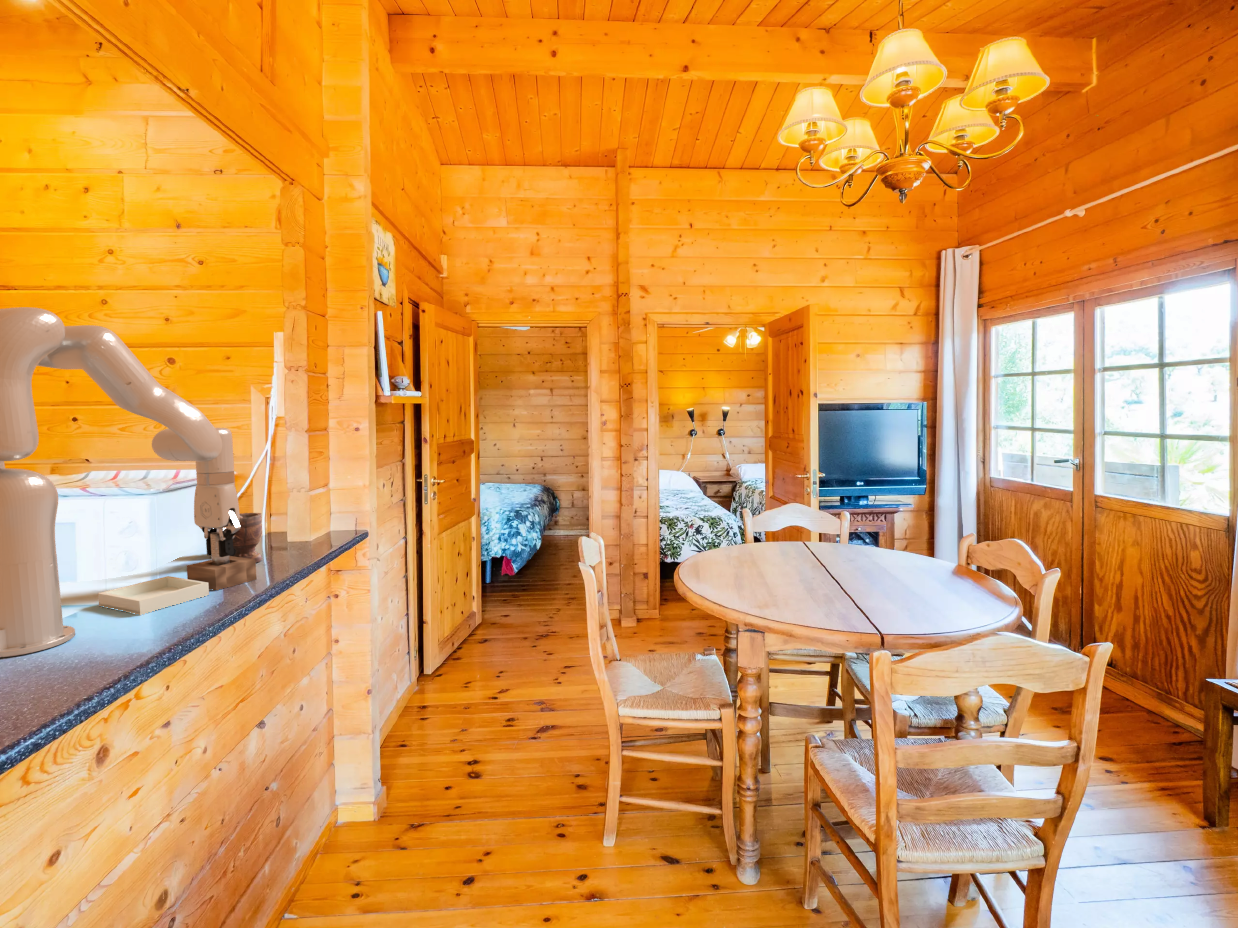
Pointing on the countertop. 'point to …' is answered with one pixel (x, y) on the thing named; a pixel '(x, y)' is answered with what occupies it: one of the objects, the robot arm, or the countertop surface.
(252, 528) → the mortar and pestle
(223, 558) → the pin
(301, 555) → the countertop surface
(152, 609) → the tray
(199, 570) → the pin block
